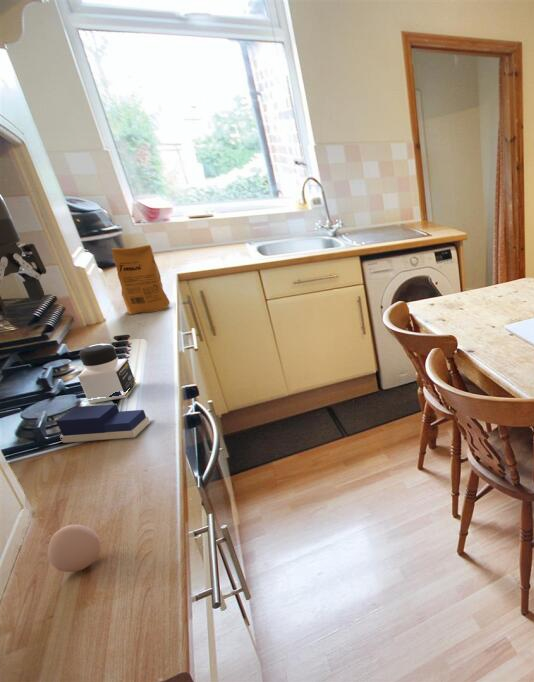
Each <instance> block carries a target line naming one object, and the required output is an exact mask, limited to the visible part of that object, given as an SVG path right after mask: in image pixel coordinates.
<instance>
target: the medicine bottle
mask: <svg viewBox="0 0 534 682" xmlns="http://www.w3.org/2000/svg"><path fill="white" fill-rule="evenodd" d="M78 356H79V358H80V361H81V363H82V365H83V368H84V369H83V370H82V371H81V372H80V373H79V374H78V375H77V378H78V381H79V383H80V385H81V388H82V390H83V392H84V394H85V398H86V400H87V399H91V398H97V397H106V398H100V399H93V400H87V402H88V403H89V404H95V403H102V402H108V401H114V400H121V399H122V400H123V399H126V398H128V396H129V395H130V393H131V392H132V391H133V389H135V387H136V385H137V382H136V379H135V377H134V374H133V372H132V369H131V366H130V363H129V361H128V359H127V358H120V359H119V357H118V355H117V352H116V349H115V345H113V344H111V343H97V344H93V345H92V344H91V345H89V346H85V348H83V349H81V350H80V351H79V353H78ZM129 388H130V389H129ZM128 389H129V390H128ZM127 390H128V392H127V393H126V394H125V395H119V396H112V397H109V396H110V395H112V394H113V393H115V392H119V391H123V392H126V391H127Z"/></svg>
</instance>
